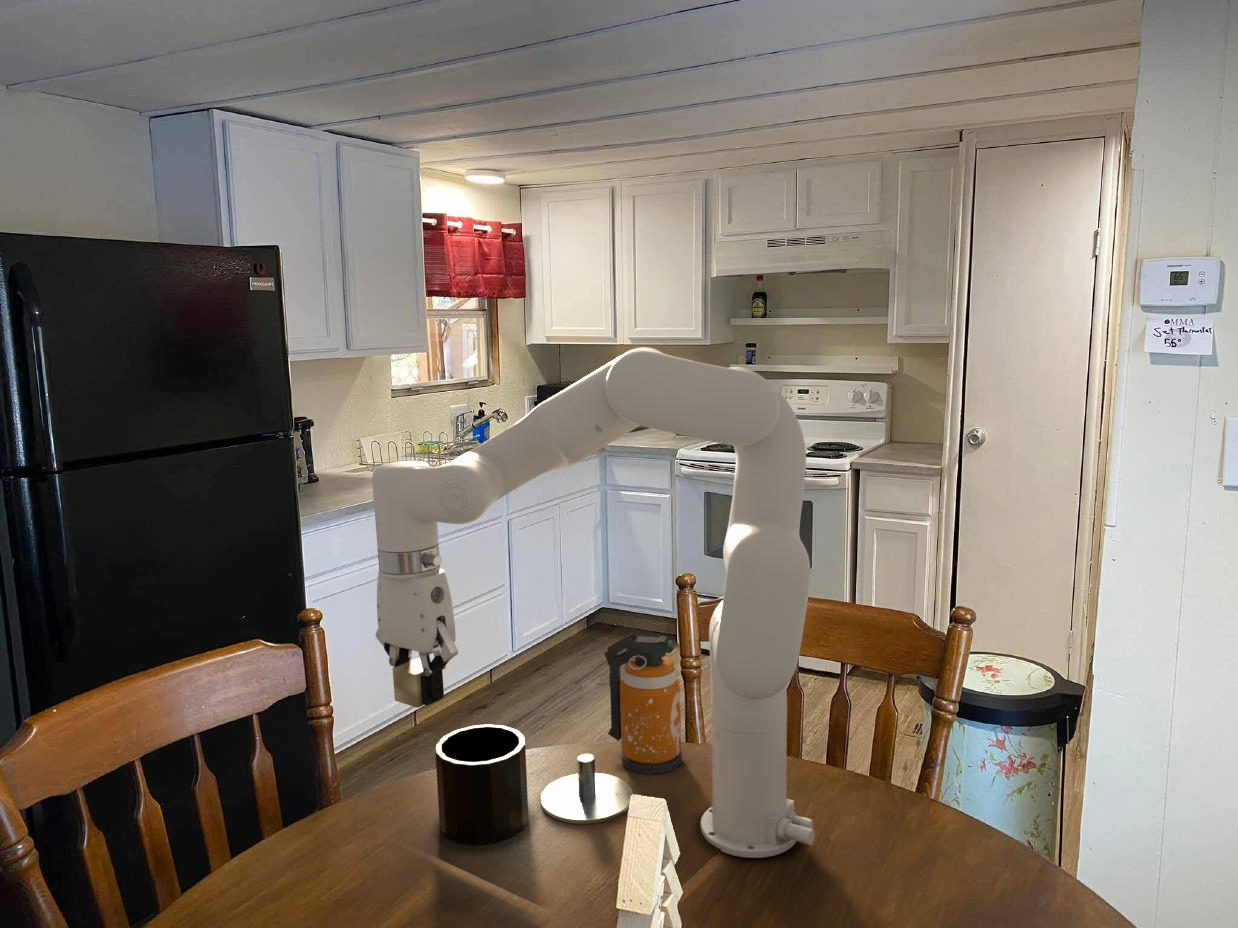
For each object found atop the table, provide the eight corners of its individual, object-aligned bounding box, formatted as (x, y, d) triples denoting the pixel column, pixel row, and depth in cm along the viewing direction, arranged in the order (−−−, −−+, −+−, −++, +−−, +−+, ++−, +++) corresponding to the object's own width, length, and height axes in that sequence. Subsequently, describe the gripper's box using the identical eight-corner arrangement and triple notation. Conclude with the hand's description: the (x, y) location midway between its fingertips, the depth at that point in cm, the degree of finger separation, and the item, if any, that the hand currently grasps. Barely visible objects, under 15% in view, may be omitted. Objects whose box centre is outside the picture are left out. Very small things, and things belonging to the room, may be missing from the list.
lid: (651, 796, 128) (650, 751, 127) (595, 838, 117) (594, 790, 116) (580, 772, 135) (578, 729, 134) (522, 809, 125) (519, 764, 124)
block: (443, 695, 118) (441, 663, 117) (417, 708, 114) (415, 674, 114) (420, 689, 121) (418, 657, 120) (394, 700, 117) (392, 668, 116)
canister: (676, 780, 132) (674, 648, 129) (602, 774, 134) (598, 644, 131) (684, 751, 141) (682, 627, 138) (614, 746, 143) (611, 624, 140)
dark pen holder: (546, 818, 123) (542, 737, 121) (485, 859, 113) (480, 773, 112) (484, 794, 129) (480, 717, 128) (422, 831, 120) (416, 749, 119)
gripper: (478, 561, 113) (487, 700, 116) (388, 546, 123) (398, 675, 125) (433, 575, 107) (443, 722, 110) (342, 558, 117) (354, 693, 119)
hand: (419, 695), depth 117 cm, fingers closed on block, 4 cm apart
